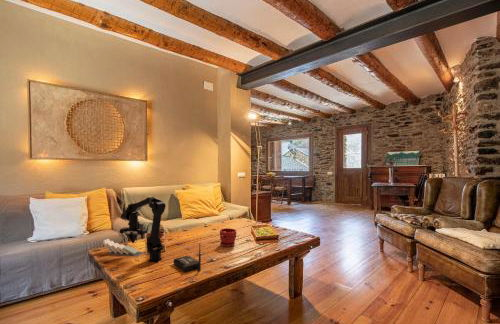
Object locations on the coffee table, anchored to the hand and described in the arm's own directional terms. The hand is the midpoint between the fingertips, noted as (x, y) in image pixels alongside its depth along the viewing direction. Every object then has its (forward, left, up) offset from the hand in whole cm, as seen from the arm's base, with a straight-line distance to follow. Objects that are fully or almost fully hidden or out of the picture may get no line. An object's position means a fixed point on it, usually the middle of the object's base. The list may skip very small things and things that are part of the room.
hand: (133, 243), depth 178 cm
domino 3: (+2, 0, -7) cm, 7 cm away
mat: (+6, 0, -8) cm, 10 cm away
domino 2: (+7, 0, -7) cm, 10 cm away
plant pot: (-60, -35, -8) cm, 70 cm away
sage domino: (-3, 0, -7) cm, 7 cm away
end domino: (+17, 0, -7) cm, 18 cm away
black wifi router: (-48, +12, -9) cm, 50 cm away
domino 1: (+12, 0, -7) cm, 14 cm away
